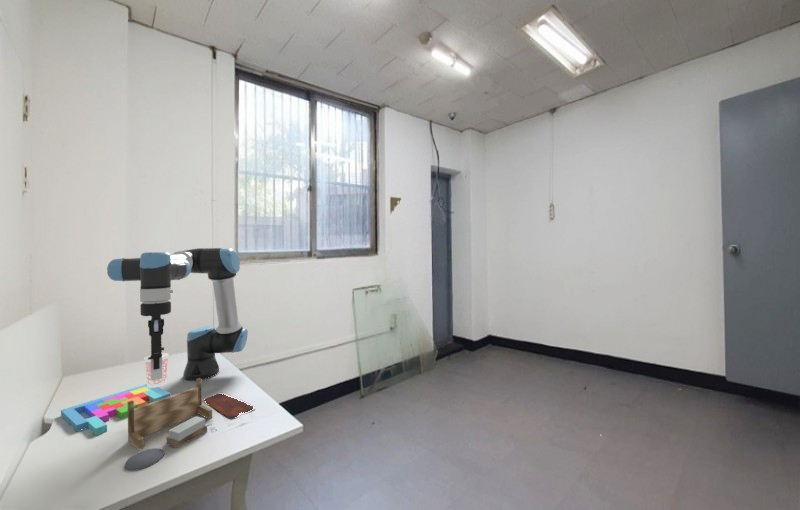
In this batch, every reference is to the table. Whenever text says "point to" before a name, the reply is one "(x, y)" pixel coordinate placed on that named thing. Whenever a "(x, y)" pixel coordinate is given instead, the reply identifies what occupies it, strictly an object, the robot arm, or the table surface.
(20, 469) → the table surface
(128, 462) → the coaster
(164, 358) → the beverage cup
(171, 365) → the table surface
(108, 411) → the tetris game
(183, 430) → the offcut upper
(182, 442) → the offcut lower
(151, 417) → the rack
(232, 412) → the wooden tablet
